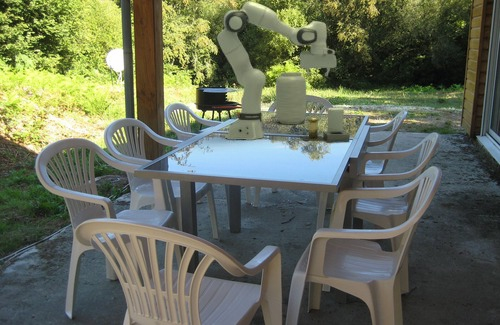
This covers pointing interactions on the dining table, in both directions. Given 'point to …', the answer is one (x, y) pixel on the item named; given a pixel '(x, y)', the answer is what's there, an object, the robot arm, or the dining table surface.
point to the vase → (291, 98)
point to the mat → (306, 138)
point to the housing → (336, 136)
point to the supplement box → (335, 119)
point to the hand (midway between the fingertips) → (318, 76)
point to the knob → (313, 127)
